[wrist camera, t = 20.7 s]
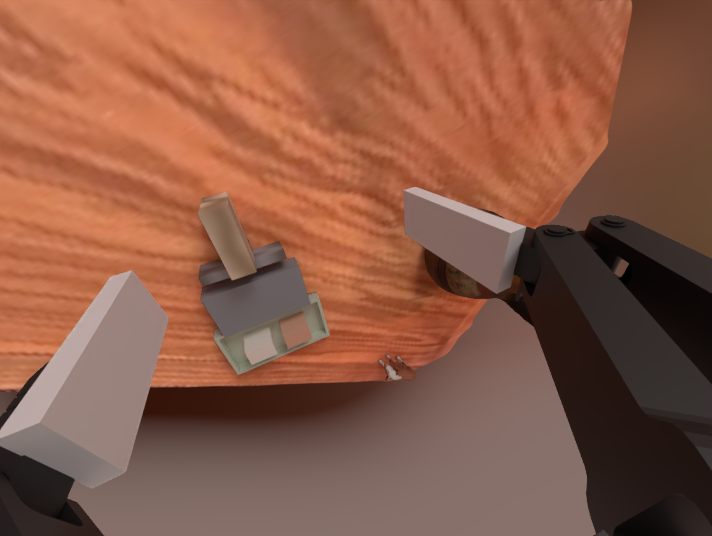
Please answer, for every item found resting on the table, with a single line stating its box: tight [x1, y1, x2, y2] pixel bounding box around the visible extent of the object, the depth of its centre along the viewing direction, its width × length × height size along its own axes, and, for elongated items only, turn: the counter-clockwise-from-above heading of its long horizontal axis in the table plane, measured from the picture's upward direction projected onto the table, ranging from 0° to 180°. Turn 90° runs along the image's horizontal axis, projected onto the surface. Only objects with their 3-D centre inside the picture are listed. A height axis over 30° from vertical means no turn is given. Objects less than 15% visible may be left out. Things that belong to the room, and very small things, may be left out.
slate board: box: [201, 258, 311, 338], centre depth 46 cm, size 16×9×4 cm, turn 98°
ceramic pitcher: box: [425, 208, 534, 326], centre depth 51 cm, size 20×20×30 cm
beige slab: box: [198, 192, 287, 286], centre depth 37 cm, size 13×12×8 cm
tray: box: [214, 292, 330, 375], centre depth 52 cm, size 20×11×2 cm, turn 98°
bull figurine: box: [378, 354, 415, 381], centre depth 72 cm, size 4×13×8 cm, turn 49°
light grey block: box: [243, 325, 278, 365], centre depth 49 cm, size 5×5×4 cm
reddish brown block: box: [279, 312, 313, 349], centre depth 51 cm, size 5×5×4 cm
